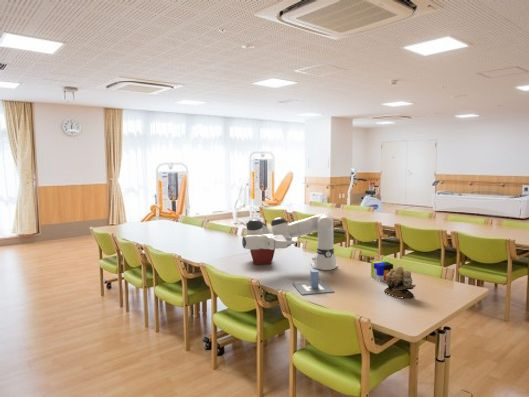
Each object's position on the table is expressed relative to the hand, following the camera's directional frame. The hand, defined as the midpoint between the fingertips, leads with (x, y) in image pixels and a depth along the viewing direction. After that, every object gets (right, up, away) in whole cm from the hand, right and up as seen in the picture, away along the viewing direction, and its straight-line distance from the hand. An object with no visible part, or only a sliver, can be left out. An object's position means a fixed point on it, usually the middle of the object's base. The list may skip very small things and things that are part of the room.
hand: (292, 240), depth 234 cm
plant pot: (-19, -24, +64) cm, 71 cm away
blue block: (+14, -29, +5) cm, 32 cm away
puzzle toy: (+60, -27, +22) cm, 69 cm away
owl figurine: (+61, -30, -8) cm, 69 cm away
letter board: (+13, -30, +4) cm, 32 cm away
